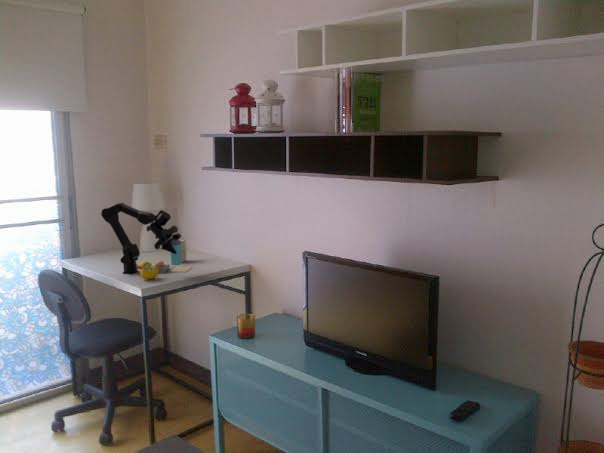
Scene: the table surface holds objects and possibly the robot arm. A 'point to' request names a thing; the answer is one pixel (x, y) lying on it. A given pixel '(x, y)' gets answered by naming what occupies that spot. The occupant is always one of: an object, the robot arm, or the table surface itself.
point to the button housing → (162, 268)
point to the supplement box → (183, 250)
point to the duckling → (147, 270)
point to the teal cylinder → (176, 258)
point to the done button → (159, 263)
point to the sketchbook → (179, 269)
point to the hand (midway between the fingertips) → (178, 252)
